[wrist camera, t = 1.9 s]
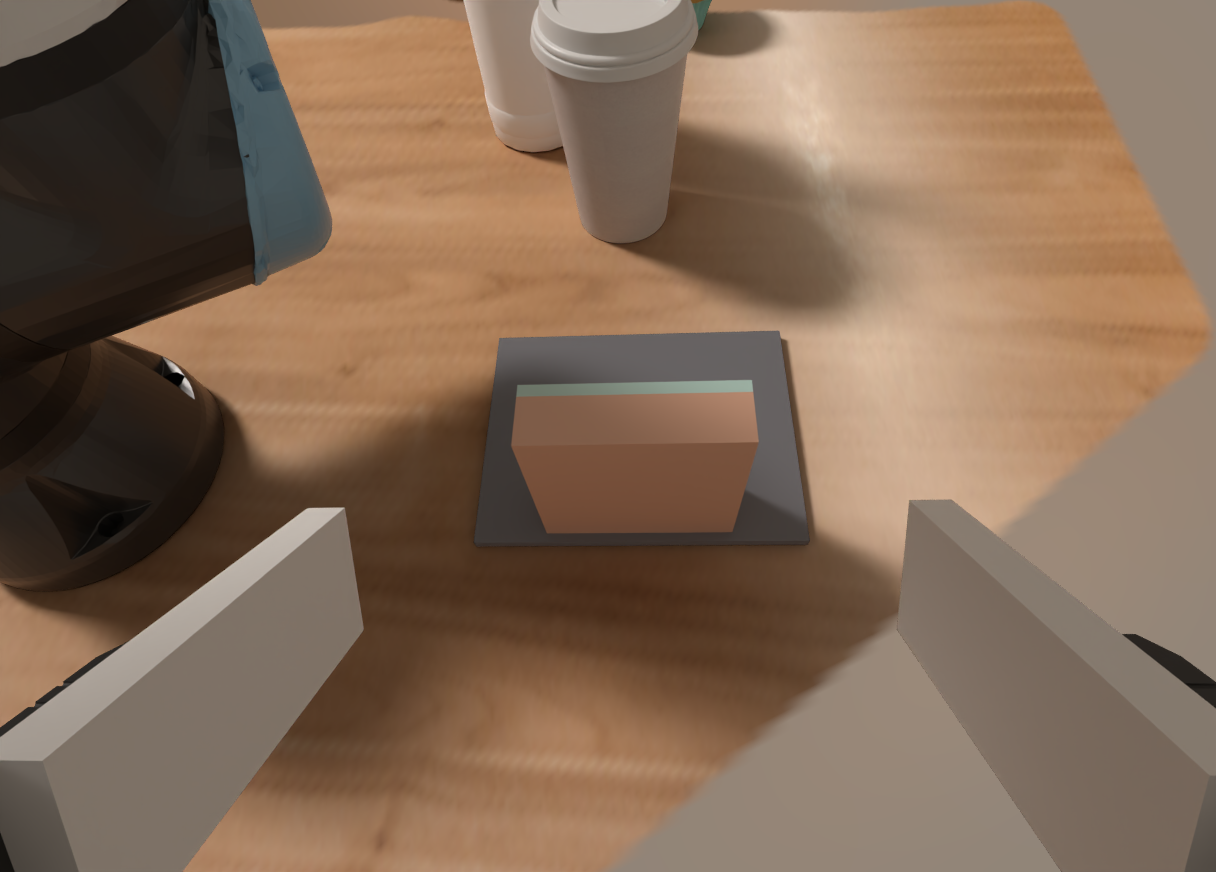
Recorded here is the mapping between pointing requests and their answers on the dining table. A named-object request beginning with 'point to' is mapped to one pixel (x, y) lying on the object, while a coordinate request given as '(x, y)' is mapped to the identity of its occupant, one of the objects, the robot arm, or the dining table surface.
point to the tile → (636, 454)
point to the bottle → (513, 74)
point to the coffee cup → (617, 104)
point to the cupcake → (701, 10)
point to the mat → (718, 356)
